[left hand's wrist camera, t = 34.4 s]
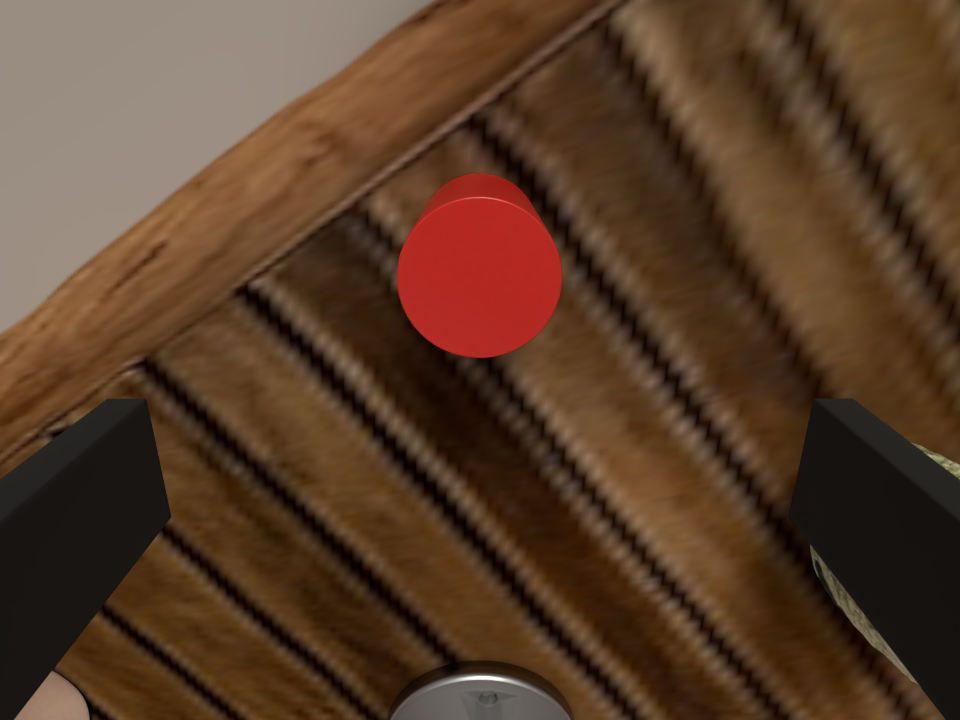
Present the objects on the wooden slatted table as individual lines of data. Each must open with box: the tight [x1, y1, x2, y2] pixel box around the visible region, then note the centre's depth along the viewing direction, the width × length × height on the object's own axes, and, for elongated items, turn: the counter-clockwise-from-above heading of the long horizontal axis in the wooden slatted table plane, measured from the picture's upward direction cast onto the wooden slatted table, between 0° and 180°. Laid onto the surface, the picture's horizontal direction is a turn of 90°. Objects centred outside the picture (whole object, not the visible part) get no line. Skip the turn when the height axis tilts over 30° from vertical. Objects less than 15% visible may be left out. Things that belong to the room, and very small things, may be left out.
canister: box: [397, 173, 562, 358], centre depth 31 cm, size 7×7×11 cm
